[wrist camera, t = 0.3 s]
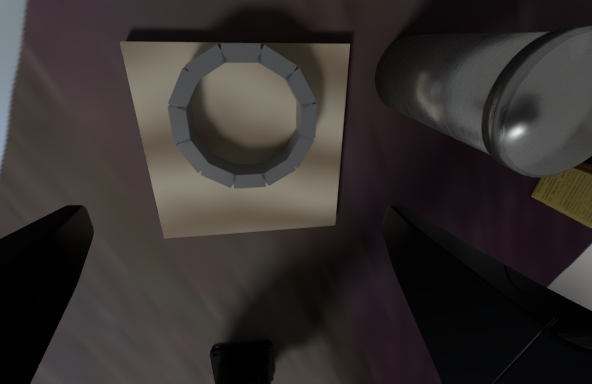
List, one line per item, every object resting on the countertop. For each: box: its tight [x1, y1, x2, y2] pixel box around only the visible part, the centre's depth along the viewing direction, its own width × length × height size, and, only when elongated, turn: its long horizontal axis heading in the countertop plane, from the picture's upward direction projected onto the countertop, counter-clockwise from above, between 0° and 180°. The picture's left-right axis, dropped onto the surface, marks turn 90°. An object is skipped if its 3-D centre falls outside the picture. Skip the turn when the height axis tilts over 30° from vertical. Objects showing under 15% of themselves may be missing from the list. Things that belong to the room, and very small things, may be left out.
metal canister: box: [375, 26, 592, 177], centre depth 17 cm, size 6×6×12 cm
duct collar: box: [168, 43, 317, 189], centre depth 20 cm, size 9×9×2 cm
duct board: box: [120, 41, 350, 238], centre depth 22 cm, size 14×14×1 cm
